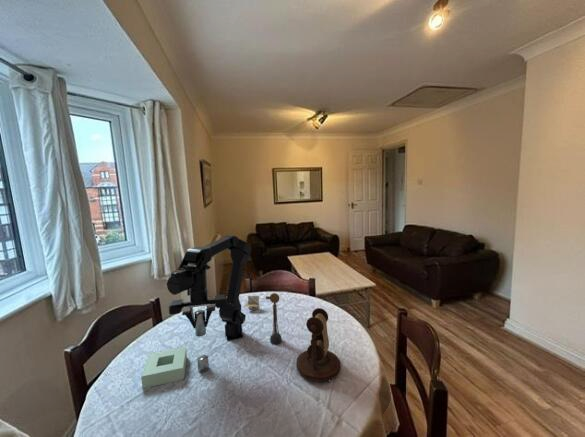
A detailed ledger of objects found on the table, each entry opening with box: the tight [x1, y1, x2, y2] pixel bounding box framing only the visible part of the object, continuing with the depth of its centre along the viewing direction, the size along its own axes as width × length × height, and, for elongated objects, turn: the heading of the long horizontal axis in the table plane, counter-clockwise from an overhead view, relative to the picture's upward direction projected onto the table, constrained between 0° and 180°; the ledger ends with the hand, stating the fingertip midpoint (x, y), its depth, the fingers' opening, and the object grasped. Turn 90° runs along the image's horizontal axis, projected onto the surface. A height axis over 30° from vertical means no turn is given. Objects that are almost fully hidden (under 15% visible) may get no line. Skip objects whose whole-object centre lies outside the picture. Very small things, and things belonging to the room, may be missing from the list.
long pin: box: [193, 309, 207, 338], centre depth 93 cm, size 4×4×8 cm
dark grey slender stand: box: [265, 292, 283, 346], centre depth 104 cm, size 6×5×20 cm
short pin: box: [196, 354, 210, 374], centre depth 90 cm, size 4×4×4 cm
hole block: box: [141, 346, 188, 389], centre depth 89 cm, size 12×12×4 cm
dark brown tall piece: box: [295, 307, 342, 382], centre depth 87 cm, size 15×15×20 cm
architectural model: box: [244, 295, 261, 311], centre depth 132 cm, size 3×7×7 cm, turn 85°
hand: (200, 327), depth 93 cm, fingers closed on long pin, 3 cm apart
